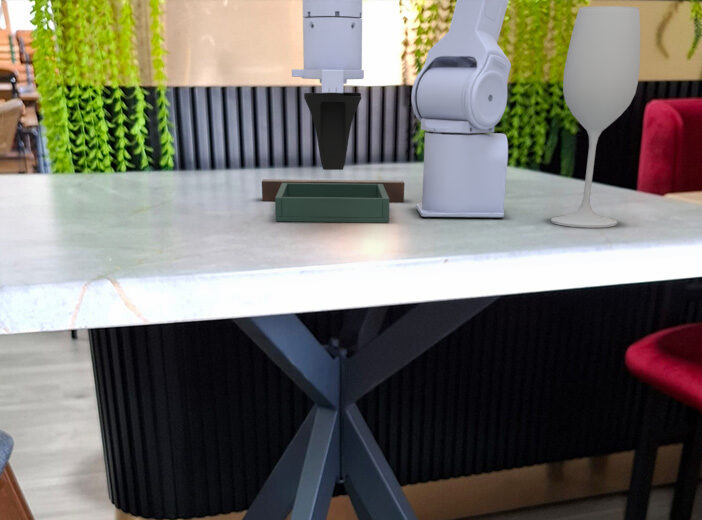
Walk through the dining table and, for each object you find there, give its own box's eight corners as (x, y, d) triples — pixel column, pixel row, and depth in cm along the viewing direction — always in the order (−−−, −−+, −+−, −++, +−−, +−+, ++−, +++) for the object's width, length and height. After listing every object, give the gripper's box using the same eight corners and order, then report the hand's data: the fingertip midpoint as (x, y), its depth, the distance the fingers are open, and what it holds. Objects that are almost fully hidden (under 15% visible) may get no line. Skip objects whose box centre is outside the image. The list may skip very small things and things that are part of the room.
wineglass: (585, 229, 95) (612, 4, 86) (534, 220, 101) (555, 8, 92) (633, 224, 99) (663, 8, 90) (582, 215, 104) (606, 11, 95)
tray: (382, 205, 111) (382, 183, 110) (388, 222, 98) (389, 198, 97) (282, 204, 111) (281, 182, 110) (275, 221, 98) (275, 197, 97)
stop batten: (402, 200, 116) (403, 180, 114) (403, 202, 114) (404, 182, 113) (263, 198, 115) (262, 179, 114) (262, 200, 113) (261, 180, 112)
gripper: (293, 21, 92) (296, 162, 98) (287, 14, 79) (290, 176, 85) (362, 22, 92) (360, 162, 98) (366, 15, 79) (364, 177, 85)
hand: (333, 169), depth 92 cm, fingers closed
